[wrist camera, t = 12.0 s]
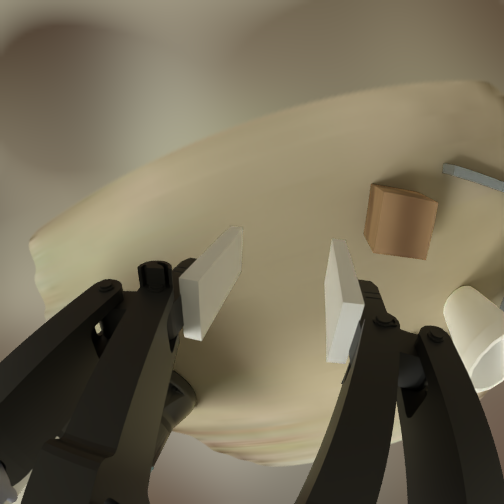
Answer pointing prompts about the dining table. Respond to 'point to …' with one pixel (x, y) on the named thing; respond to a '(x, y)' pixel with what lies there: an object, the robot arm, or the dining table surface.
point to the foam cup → (477, 335)
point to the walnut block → (399, 222)
